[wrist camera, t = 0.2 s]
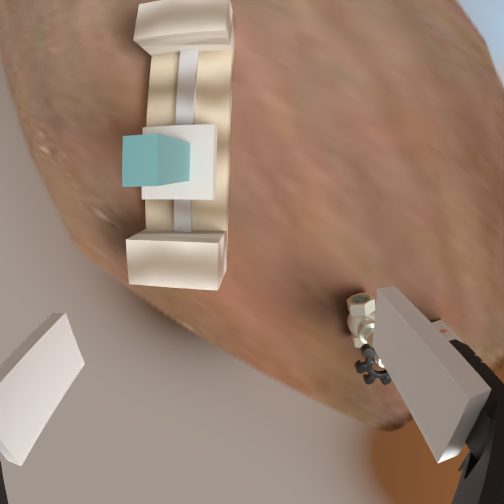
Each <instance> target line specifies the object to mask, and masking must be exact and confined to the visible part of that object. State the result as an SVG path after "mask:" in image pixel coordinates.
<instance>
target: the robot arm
mask: <svg viewBox="0 0 504 504" xmlns="http://www.w3.org/2000/svg"><path fill="white" fill-rule="evenodd" d="M372 347H373V348H374V350H375V352H376V353H377V355H378V357H379V358H380V360H381V362H382V363H383V365H384V367H385V369H386V370H387V372H388V374H389V375H390V377H391V379H392V381H393V382H394V384H395V386H396V388H397V389H398V391H399V393H400V395H401V396H402V398H403V400H404V402H405V403H406V405H407V407H408V409H409V411H410V412H411V414H412V416H413V418H414V420H415V422H416V423H417V425H418V427H419V429H420V431H421V432H422V434H423V436H424V438H425V440H426V442H427V444H428V446H429V448H430V449H431V451H432V453H433V455H434V457H435V459H436V461H437V463H439V462H442V461H444V460H447V459H449V458H452V457H454V456H456V455H458V454H459V453H460V451H461V449H462V447H463V446H464V444H465V443H466V444H467V446H468V448H469V449H470V451H469V453H468V454H467V456H466V458H465V459H464V461H463V462H462V464H461V466H460V468H459V469H458V471H461V470H462V468H463V467H464V468H463V471H462V475H461V478H460V481H459V484H458V487H457V490H456V493H455V496H454V498H453V502H452V504H504V384H503V382H502V381H501V380H500V379H499V378H498V377H497V376H496V375H495V374H494V373H493V372H492V370H491V369H490V368H489V367H488V366H487V365H486V364H485V363H483V361H482V360H481V359H480V358H479V357H478V356H476V354H475V353H474V351H473V350H472V349H471V348H470V347H469V346H468V345H466V344H464V343H462V342H460V341H458V340H457V339H454V340H450V341H448V340H447V339H446V338H445V337H444V336H443V335H442V334H441V333H440V332H439V330H438V329H437V328H436V327H435V326H434V325H433V324H432V323H431V322H430V321H429V320H428V319H427V318H426V317H425V316H424V315H423V314H422V313H421V312H420V311H419V310H418V309H417V308H416V307H415V306H414V305H413V304H412V303H411V302H410V301H409V300H408V299H407V298H406V297H405V296H404V295H403V294H402V293H401V292H400V291H399V290H398V289H397V288H396V287H395V286H390V287H383V288H377V301H376V313H375V324H374V334H373V343H372ZM84 364H85V363H84V361H83V358H82V356H81V354H80V351H79V348H78V346H77V343H76V341H75V338H74V335H73V333H72V330H71V327H70V324H69V321H68V319H67V316H66V313H52V314H51V315H50V316H49V317H48V318H47V319H46V320H45V321H44V322H43V323H42V324H41V325H40V326H39V327H38V328H37V329H36V330H35V331H34V332H33V333H32V334H31V335H30V336H29V337H28V338H27V339H26V340H25V341H24V342H23V343H22V344H21V345H20V346H19V347H18V348H17V349H16V350H15V351H14V352H13V353H12V354H11V355H10V356H9V357H8V358H7V359H6V360H5V361H4V362H3V363H2V364H1V366H0V451H1V453H2V454H3V455H4V457H5V458H6V459H7V460H8V461H10V462H12V463H15V464H18V465H20V466H22V464H23V462H24V460H25V459H26V457H27V455H28V453H29V452H30V450H31V448H32V446H33V445H34V443H35V441H36V439H37V438H38V436H39V435H40V433H41V431H42V430H43V428H44V426H45V425H46V423H47V421H48V420H49V418H50V416H51V415H52V413H53V412H54V410H55V408H56V407H57V405H58V404H59V402H60V401H61V399H62V397H63V396H64V394H65V393H66V391H67V390H68V388H69V387H70V385H71V383H72V382H73V380H74V379H75V377H76V376H77V374H78V373H79V371H80V370H81V369H82V367H83V366H84ZM0 504H8V500H7V495H6V490H5V485H4V480H3V474H2V467H1V462H0Z"/></svg>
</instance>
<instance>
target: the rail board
mask: <svg viewBox="0 0 504 504" xmlns="http://www.w3.org/2000/svg"><path fill="white" fill-rule="evenodd" d="M133 40H134V41H135V42H136V43H137V44H138V45H140V46H141V47H142V48H143V49H144V50H145V51H146V52H148V53H149V54H150V55H151V56H152V59H151V69H150V79H149V92H148V106H147V124H146V127H157V126H174V125H201V124H215V125H216V126H217V127H218V130H217V162H216V198H215V199H213V200H185V199H145V212H146V229H145V230H143V231H141V232H139V233H137V234H135V235H133V236H132V237H130V238H128V239H126V251H127V264H128V276H129V284H136V285H148V286H161V287H174V288H189V289H204V290H218V289H219V286H220V284H221V281H222V279H223V277H224V274H225V272H226V269H227V261H228V200H229V161H230V130H231V104H232V81H233V60H234V41H235V19H234V15H233V11H232V7H231V3H230V0H160V1H154V2H149V3H143V4H139V8H138V13H137V19H136V25H135V31H134V38H133Z"/></svg>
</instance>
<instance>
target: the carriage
mask: <svg viewBox="0 0 504 504" xmlns="http://www.w3.org/2000/svg"><path fill="white" fill-rule="evenodd" d="M217 130H218V127H217V126H216V125H215V124H201V125H174V126H157V127H143V135H130V136H123V149H122V187H138V186H142V199H185V200H213V199H215V198H216V162H217Z"/></svg>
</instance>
